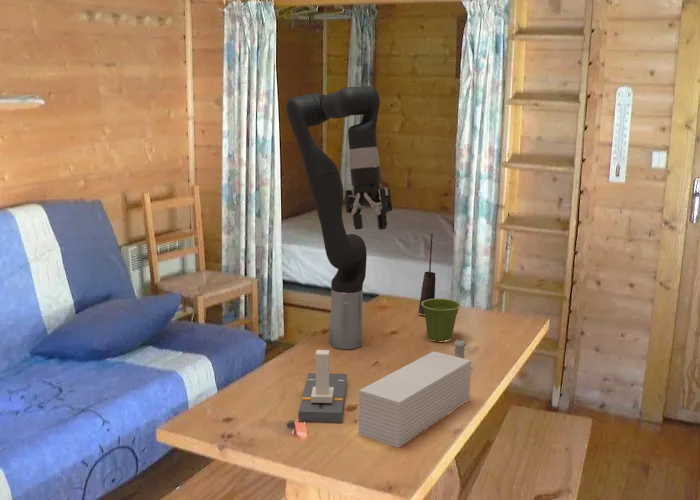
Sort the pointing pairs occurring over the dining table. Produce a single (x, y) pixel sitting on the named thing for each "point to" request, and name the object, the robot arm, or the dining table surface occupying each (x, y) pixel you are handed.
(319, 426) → the dining table surface
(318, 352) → the fader tab
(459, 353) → the rook chess piece
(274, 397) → the dining table surface
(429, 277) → the butter churn
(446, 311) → the plant pot
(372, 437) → the stack of papers
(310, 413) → the fader console
